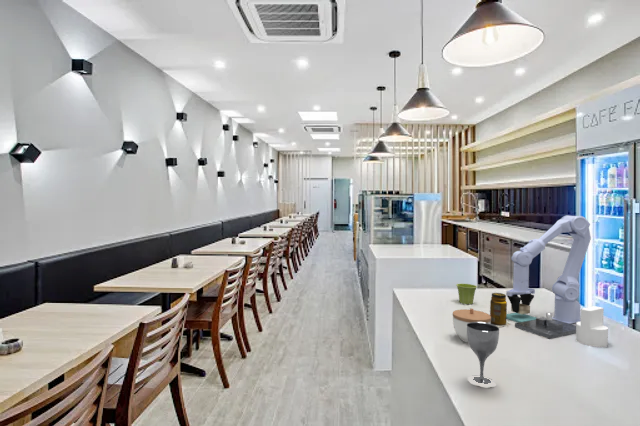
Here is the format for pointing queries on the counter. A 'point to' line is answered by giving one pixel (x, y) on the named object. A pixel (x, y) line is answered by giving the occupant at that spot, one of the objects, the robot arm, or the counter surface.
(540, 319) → the brushed metal panel
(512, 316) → the mat
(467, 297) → the plant pot
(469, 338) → the wine glass
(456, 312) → the lidded bowl
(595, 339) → the cylinder with rectangular tab
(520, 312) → the collar
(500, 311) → the condiment
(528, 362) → the counter surface
